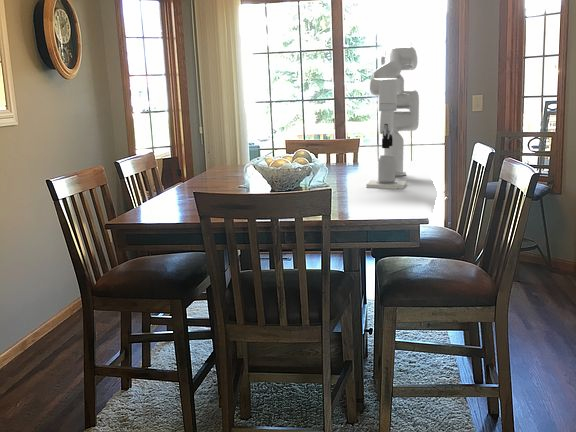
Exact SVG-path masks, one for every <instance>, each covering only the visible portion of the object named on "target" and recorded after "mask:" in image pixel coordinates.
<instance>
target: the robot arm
mask: <svg viewBox="0 0 576 432" xmlns="http://www.w3.org/2000/svg"><path fill="white" fill-rule="evenodd" d="M417 55H418V54H417V51H416V50H415V48H414V47H413V46H409V45H408V46H392V47H389V48H388V49H387V50H385V53H384V54H383V55H382V56H381V60H380V62H381V63H380V64H381V66H379V67H378V68H376V69H375V70H374V71H373V72H372V74H371V77H370V84H369V91H370V93H371V94H372V95H373V96H375V97H376V96H378V111H379V112H380V121H379V134H380V135H382V137H381V138H382V139H381V148H382V149H384V150H383V151H384V152H383V153H384V154H383V155H393V156H394V158H395V159H396V162H395V177H400V176H406V175H407V172H406V171H404V143H405V142H404V141H405V140H404V138H403V136H402V135H401V134H400V133H399V132H401V131H402V132H406V131H407V132H411V131H412V132H413V131H417V129H419V128H418V127H419V122H420V121H419V120H420V119H419V117H420V115H419V114H420V95H419V92H418V91H417V90H416V89H411V88H410V89H405V79H404V77H403V76H402V74H401V73H402V71H413V70H415V69H416V68H417V66H418V56H417ZM404 109H405V110H409V111H397V110H404Z"/></svg>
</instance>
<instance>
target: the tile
mask: <svg viewBox="0 0 576 432" xmlns="http://www.w3.org/2000/svg"><path fill="white" fill-rule="evenodd" d="M406 186H407V181H406V180H395V181H394V182H393V183H380V182H379V181H378V180H370V181H369V182H368V183H366V185H365V187H366V188H367V189H369V188H370V189H397V188H403V189H404V188H405V187H406Z"/></svg>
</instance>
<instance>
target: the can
mask: <svg viewBox="0 0 576 432" xmlns="http://www.w3.org/2000/svg"><path fill="white" fill-rule="evenodd" d="M395 162H396V159H395V158H394V156H393V155H384V154H383V155H380V156H379V158H378V164H377V165H378V171H377V174H378V175H377V176H378V178H377V181H379V182H380V183H393V182H394V181H396V176H395Z"/></svg>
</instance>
